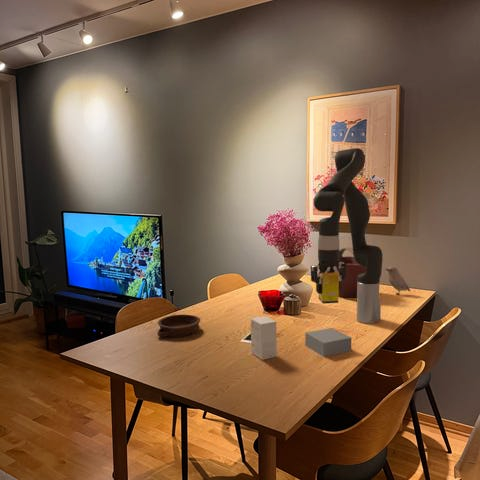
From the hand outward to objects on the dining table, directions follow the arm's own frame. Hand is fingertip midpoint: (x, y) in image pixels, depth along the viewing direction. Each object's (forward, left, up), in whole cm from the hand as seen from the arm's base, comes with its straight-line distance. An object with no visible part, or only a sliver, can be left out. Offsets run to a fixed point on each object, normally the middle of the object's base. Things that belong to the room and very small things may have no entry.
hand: (328, 292), depth 166 cm
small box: (+24, -5, -22) cm, 33 cm away
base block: (0, 0, -21) cm, 21 cm away
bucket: (-53, -58, -22) cm, 81 cm away
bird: (-76, -46, -21) cm, 91 cm away
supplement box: (0, 0, -4) cm, 4 cm away
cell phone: (+18, -23, -22) cm, 36 cm away
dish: (+44, -43, -22) cm, 65 cm away
